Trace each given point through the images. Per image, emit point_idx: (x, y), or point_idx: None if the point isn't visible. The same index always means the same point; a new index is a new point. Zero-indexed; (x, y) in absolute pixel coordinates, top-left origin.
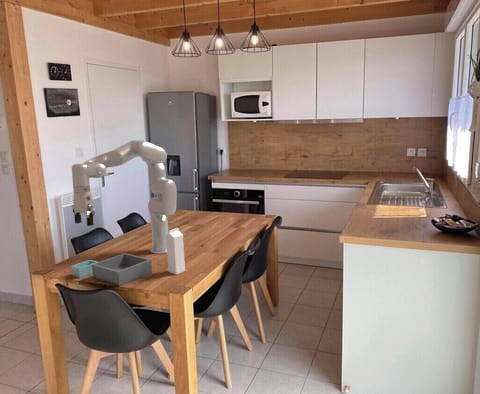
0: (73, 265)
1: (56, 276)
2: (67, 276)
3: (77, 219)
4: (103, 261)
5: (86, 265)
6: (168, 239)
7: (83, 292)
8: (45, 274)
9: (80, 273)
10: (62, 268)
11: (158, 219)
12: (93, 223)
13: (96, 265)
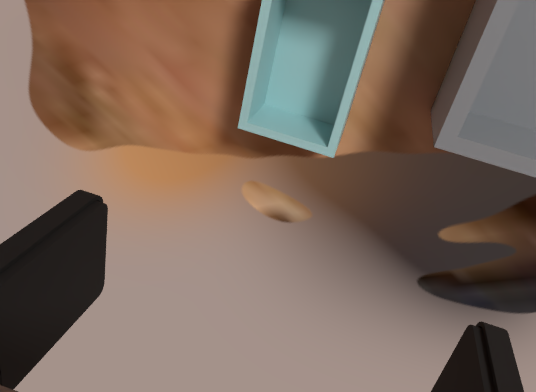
0: (246, 115)
1: (182, 140)
2: None
3: (61, 310)
4: (495, 52)
5: (278, 6)
6: None
7: (504, 293)
8: (102, 129)
9: (340, 138)
10: (99, 17)
11: None
12: (510, 344)
13: (490, 157)
